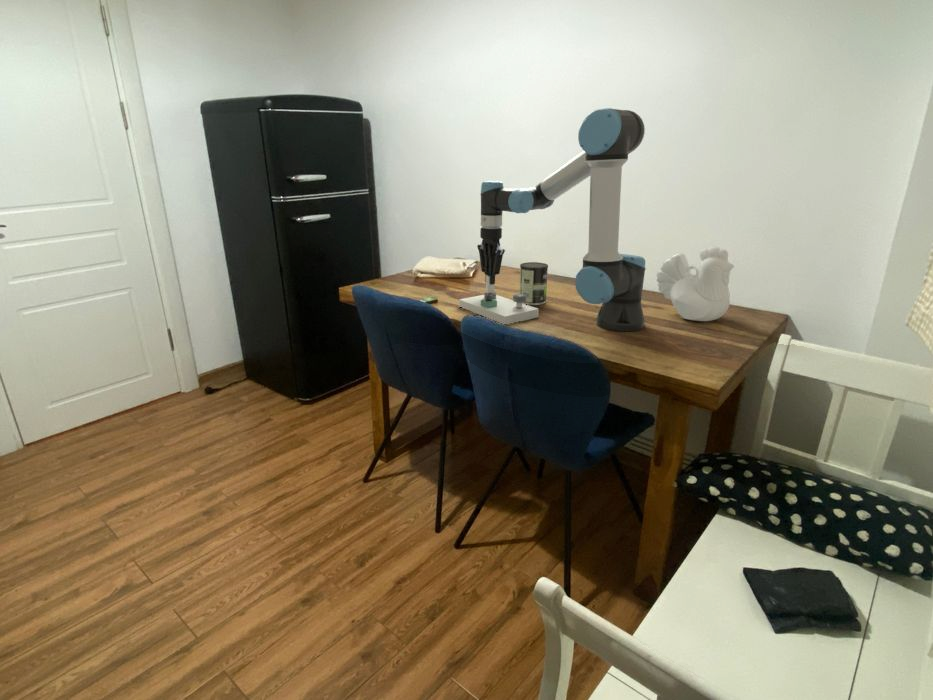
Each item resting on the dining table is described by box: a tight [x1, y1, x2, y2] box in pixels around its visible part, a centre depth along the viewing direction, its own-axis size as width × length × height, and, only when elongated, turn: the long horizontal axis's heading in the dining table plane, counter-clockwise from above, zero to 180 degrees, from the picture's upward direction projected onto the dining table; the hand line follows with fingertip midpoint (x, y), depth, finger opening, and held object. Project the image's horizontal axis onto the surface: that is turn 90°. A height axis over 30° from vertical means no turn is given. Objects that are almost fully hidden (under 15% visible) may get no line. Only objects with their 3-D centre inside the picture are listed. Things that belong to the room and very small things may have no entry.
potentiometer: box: [481, 295, 497, 308], centre depth 189 cm, size 4×4×4 cm
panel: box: [458, 294, 540, 325], centre depth 192 cm, size 26×15×3 cm, turn 36°
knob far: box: [483, 291, 497, 299], centre depth 200 cm, size 4×4×5 cm
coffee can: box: [519, 261, 549, 306], centre depth 203 cm, size 10×10×14 cm
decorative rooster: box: [656, 246, 735, 322], centre depth 184 cm, size 25×16×25 cm, turn 31°
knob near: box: [512, 293, 526, 309], centre depth 187 cm, size 4×4×5 cm
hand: (489, 292), depth 199 cm, fingers closed
